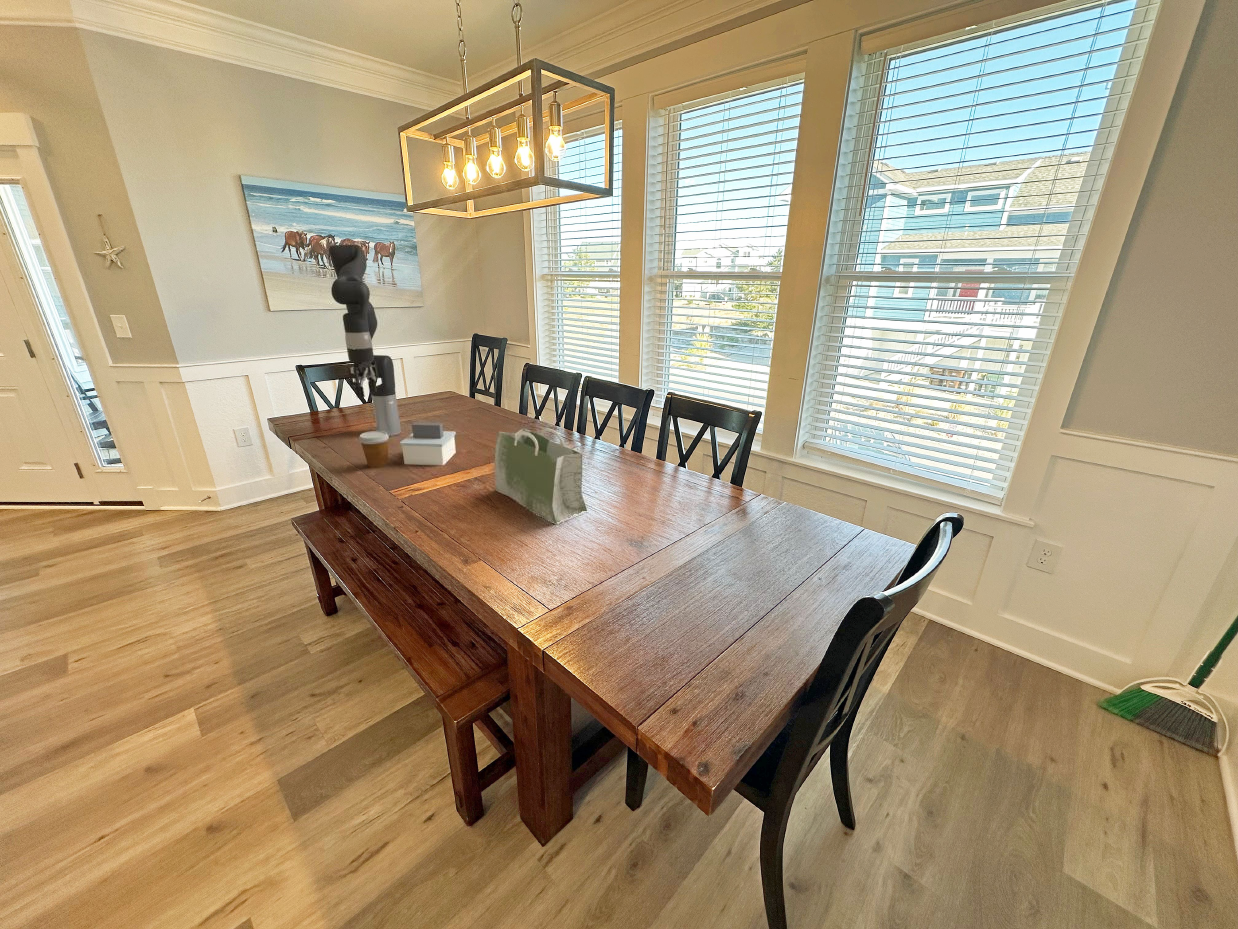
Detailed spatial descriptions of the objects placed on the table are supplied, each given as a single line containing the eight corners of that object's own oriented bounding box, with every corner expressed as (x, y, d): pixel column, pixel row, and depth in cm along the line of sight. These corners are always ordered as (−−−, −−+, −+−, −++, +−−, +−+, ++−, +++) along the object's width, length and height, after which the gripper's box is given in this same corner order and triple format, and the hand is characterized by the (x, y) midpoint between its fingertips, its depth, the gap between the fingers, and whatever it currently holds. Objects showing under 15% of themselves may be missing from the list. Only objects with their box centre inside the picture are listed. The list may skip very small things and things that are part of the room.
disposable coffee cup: (357, 468, 172) (351, 436, 168) (379, 460, 180) (374, 429, 176) (377, 473, 169) (372, 440, 164) (398, 464, 177) (394, 432, 173)
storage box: (419, 453, 188) (417, 433, 186) (455, 454, 189) (454, 434, 186) (404, 466, 175) (401, 445, 173) (443, 467, 175) (441, 446, 173)
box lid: (416, 434, 186) (414, 417, 184) (455, 436, 186) (454, 418, 184) (400, 447, 172) (397, 429, 170) (442, 448, 172) (440, 430, 170)
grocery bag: (591, 511, 147) (591, 438, 138) (554, 525, 137) (553, 448, 129) (528, 479, 167) (525, 414, 159) (493, 490, 158) (488, 422, 150)
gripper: (358, 343, 166) (366, 389, 172) (336, 348, 153) (345, 399, 158) (381, 343, 166) (387, 390, 172) (360, 349, 153) (368, 400, 158)
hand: (367, 394), depth 165 cm, fingers open, 8 cm apart
